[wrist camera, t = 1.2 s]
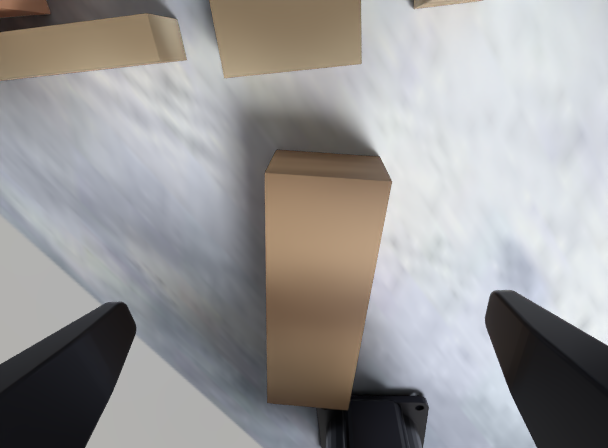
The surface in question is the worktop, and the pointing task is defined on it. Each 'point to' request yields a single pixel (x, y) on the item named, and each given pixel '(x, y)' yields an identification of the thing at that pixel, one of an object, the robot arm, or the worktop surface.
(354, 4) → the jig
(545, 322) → the robot arm
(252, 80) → the worktop surface
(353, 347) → the tan wooden block
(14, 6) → the salmon pink cuboid
